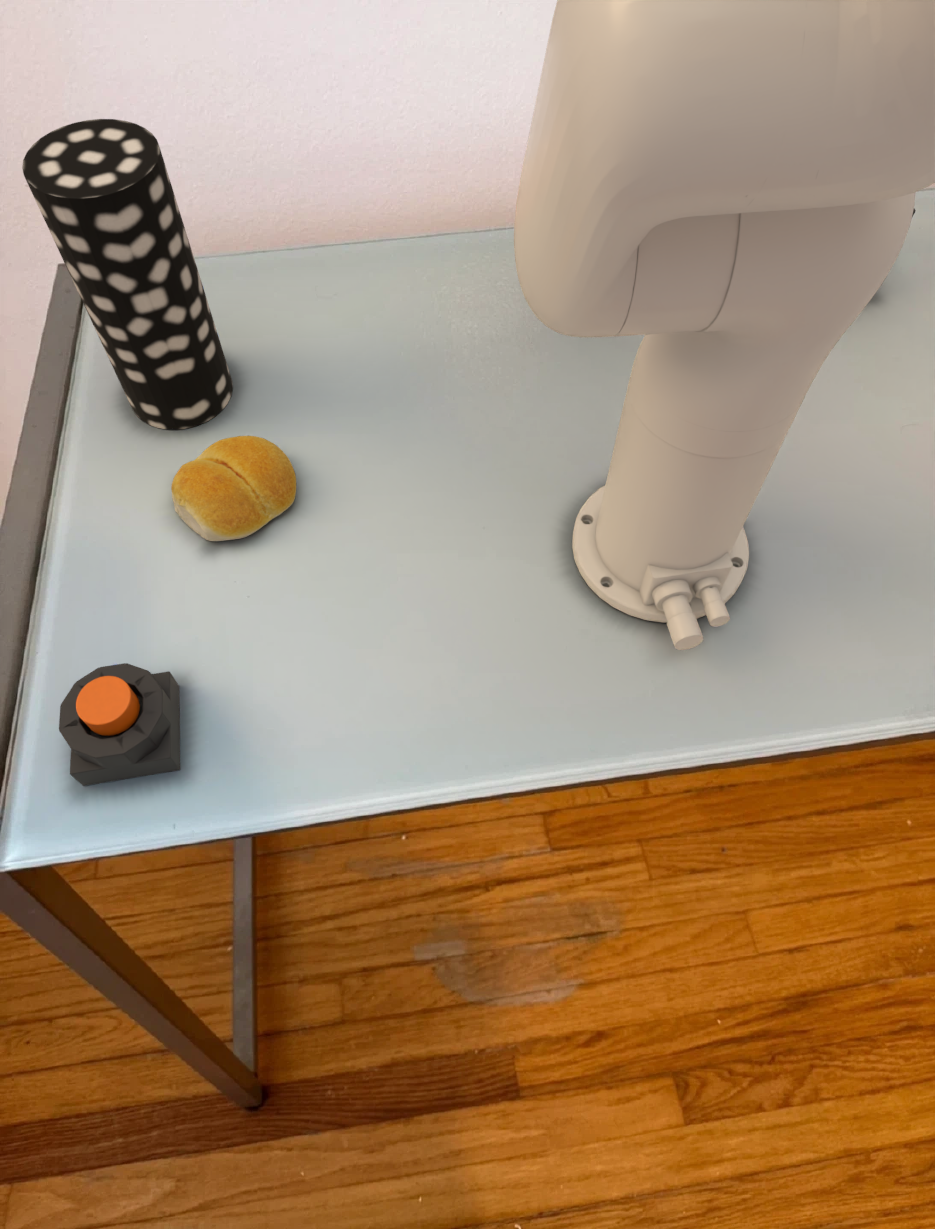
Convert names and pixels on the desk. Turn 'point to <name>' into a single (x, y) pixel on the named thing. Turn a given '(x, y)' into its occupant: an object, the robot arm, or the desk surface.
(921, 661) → the desk surface
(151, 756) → the control block
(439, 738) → the desk surface
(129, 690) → the button
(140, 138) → the spotted tube
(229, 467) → the bread roll
